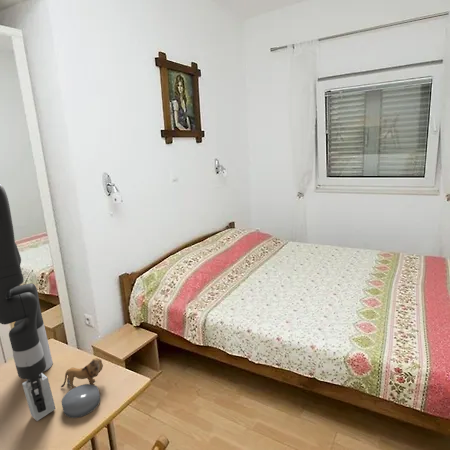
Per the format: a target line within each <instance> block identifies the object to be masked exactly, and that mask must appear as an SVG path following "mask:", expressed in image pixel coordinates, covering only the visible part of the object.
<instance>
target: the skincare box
mask: <svg viewBox="0 0 450 450" xmlns="http://www.w3.org/2000/svg"><path fill="white" fill-rule="evenodd" d="M48 377H49V376H46V374H44V372H42V379H43V382H42V383H43V388H44V392H43V396H44V398H45V401H44V402H45V406H46V410H45V411H42V412H40V413H39V412H38V410H37V406H35V405H34V400H33V396H31V392H30V391H31V389H32V387H31V386H30V387H28V384H27V380H26V381H24V382H21V383H22V384H21V385H22V388H23V392H24V396H25V398H26V402H27V406H28V409H29V413H30V415H31V417H32V418H33V419H34V420H35V421H36V422H38V421H40V420H42V418H44V417H46V416H47V415H49V414H50V413H52V412H53V411H54V410H55V411H56V404H55V402H54V401H55V400H54V397H53V393H52V389H51V388H52V387H51V385H50V381H49V378H48ZM40 385H41V384H40ZM32 390H33V389H32Z"/></svg>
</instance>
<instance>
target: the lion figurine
mask: <svg viewBox="0 0 450 450" xmlns="http://www.w3.org/2000/svg"><path fill="white" fill-rule="evenodd" d="M103 368H104V364H103V362H102V359H100V358H98V357H95V358H92V360H91V361H90V362H89V363H88V364H86V365H85V366H84V367H79V368H78V367H70V368H69V369H67V370H66V371H65V374H64V382H63V384H62V385H61V386H60V388H64V387H65V385H66V383H67V384H68V385H70V386H71V389H73V388H75V387H77V385H76V386H75V385H74V380H75V378H76V379H79V380H86V379H87V380H88V384H92V385H95V384H94V382H95V381H96V379H95V378H96V377H98V376H99V373H100V372H101V371H102V370H103ZM95 386H96V385H95Z"/></svg>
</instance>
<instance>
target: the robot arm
mask: <svg viewBox="0 0 450 450" xmlns="http://www.w3.org/2000/svg"><path fill="white" fill-rule="evenodd" d="M10 206H11V205H10V203H9V197H8V194H7V192H6V190H5V188H4V186H3V185H2V184H1V183H0V324H1V325H9V324H10V325H11V324H12V323H13V327H12V328H11V329H10V330H9V331H8V332H9V333H8V337H9V343H10V346H11V350H12V358H13V361H14V364H15V369H16V373H17V376H18V377H19V379H23V380H26V381H27V384H28V387H30V386H31V387H32V389H33V390H32V389H31V391H30V392H31V396H33V400H34V405H35V406H37V410H38V412H39V413H40V412H42V411H45V410H46V406H45V402H44V401H45V398H44V396H43V392H44V388H43V383H42V382H43V379H42V373H44V372H46V371H47V370H49V369H50V368H51V367H52V366H53V358H52V354H51V349H50V343H49V340H48V335H47V331H46V327H45V323H44V318H43V315H42V314H43V313H42V310H41V304H40V299H39V293H38V289H37V286H36V285H35V284H34V283H26V284H25V283H24V280H25V279H24V276H23V275H24V274H23V271H22V267H21V264H22V257H21V254H20V251H19V248H18V245H17V243H16V239H15V233H14V225H13V219H12V213H11V207H10ZM23 283H24V284H23ZM40 384H41V385H40Z"/></svg>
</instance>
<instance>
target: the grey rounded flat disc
mask: <svg viewBox="0 0 450 450" xmlns="http://www.w3.org/2000/svg"><path fill="white" fill-rule="evenodd" d="M100 401H101V395H100V390H99V388H98V386H97V385H92V384H90V383H85V384H80V385H78V386H77V385H76V387H75V388H73V389H72V388H71V389H70V390H69V391H67V393H65V394H64V395H63V398H62V399H61V406H62V410H63V414H64V415H65V416H66V417H67V418H69V419H77V418H82V417H84V416H87V415H88V414H89V415H90V414H91V413H92V412H93V411H94V410H95V409H97V407H98V406H99V405H100V403H101V402H100Z"/></svg>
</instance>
